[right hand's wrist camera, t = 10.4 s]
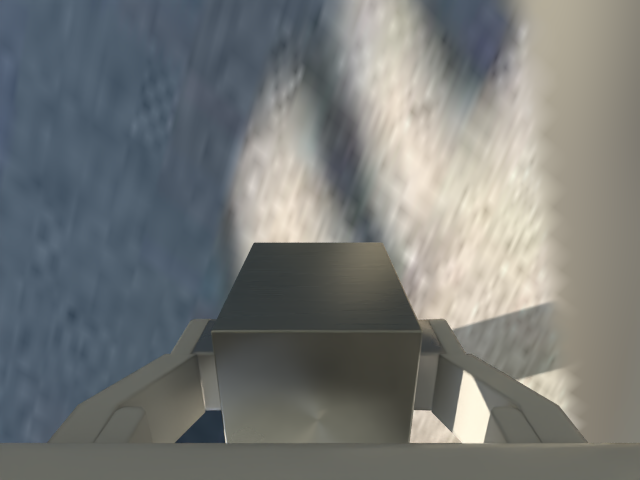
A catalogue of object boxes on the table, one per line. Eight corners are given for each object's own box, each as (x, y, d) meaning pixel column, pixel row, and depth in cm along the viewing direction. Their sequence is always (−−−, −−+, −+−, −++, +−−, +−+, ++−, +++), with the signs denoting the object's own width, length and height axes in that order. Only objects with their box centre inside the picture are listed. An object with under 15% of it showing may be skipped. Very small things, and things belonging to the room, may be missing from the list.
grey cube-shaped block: (261, 358, 13) (231, 492, 9) (253, 242, 12) (209, 331, 7) (374, 358, 13) (404, 492, 9) (383, 242, 12) (424, 331, 7)
